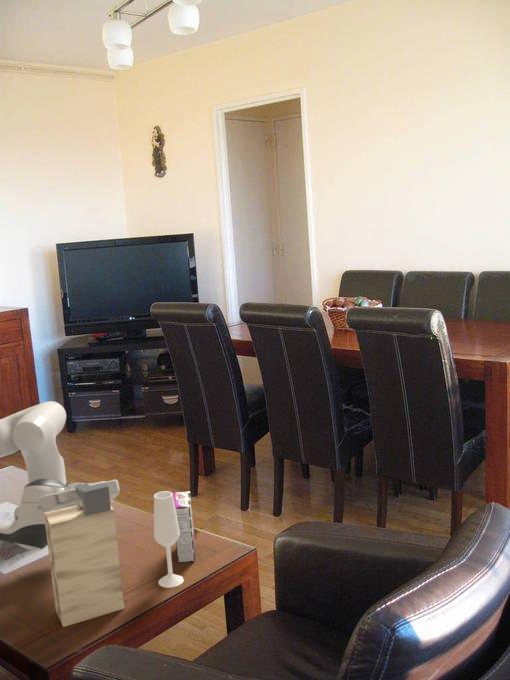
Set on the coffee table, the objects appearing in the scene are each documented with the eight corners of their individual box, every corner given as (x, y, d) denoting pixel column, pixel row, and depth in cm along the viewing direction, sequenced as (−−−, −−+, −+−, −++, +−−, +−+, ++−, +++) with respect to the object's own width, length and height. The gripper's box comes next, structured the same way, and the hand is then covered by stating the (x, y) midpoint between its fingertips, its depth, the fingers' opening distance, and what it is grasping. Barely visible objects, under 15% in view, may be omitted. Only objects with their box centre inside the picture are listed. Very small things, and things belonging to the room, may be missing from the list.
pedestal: (55, 611, 183) (43, 508, 178) (115, 594, 189) (104, 493, 184) (63, 627, 176) (50, 520, 171) (124, 608, 182) (113, 504, 177)
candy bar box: (177, 545, 214) (173, 491, 211) (195, 543, 214) (190, 490, 211) (177, 563, 203) (172, 507, 200) (195, 562, 203) (190, 506, 200)
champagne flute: (174, 589, 190) (166, 501, 185) (153, 584, 193) (144, 497, 188) (188, 577, 195) (181, 491, 191) (168, 572, 199) (160, 488, 194)
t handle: (70, 494, 189) (67, 471, 187) (93, 488, 191) (91, 466, 190) (86, 516, 174) (83, 492, 173) (110, 510, 177) (108, 486, 176)
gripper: (34, 497, 195) (40, 487, 183) (110, 480, 204) (120, 469, 192) (39, 521, 193) (45, 512, 181) (115, 503, 202) (126, 493, 190)
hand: (84, 490), depth 187 cm, fingers open, 7 cm apart
